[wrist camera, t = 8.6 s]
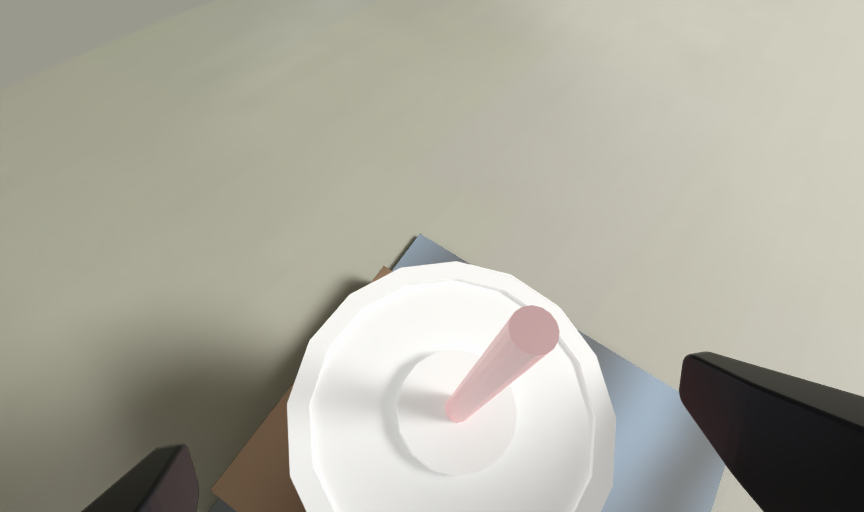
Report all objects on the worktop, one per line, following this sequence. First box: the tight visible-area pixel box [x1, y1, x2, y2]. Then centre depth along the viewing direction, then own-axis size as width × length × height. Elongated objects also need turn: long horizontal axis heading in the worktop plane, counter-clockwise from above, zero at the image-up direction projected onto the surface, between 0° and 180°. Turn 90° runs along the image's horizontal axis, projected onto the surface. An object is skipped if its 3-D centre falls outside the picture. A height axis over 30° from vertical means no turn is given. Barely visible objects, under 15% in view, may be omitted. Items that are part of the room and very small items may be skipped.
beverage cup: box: [287, 261, 616, 512], centre depth 11 cm, size 6×6×14 cm
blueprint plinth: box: [209, 234, 725, 512], centre depth 18 cm, size 16×14×2 cm
